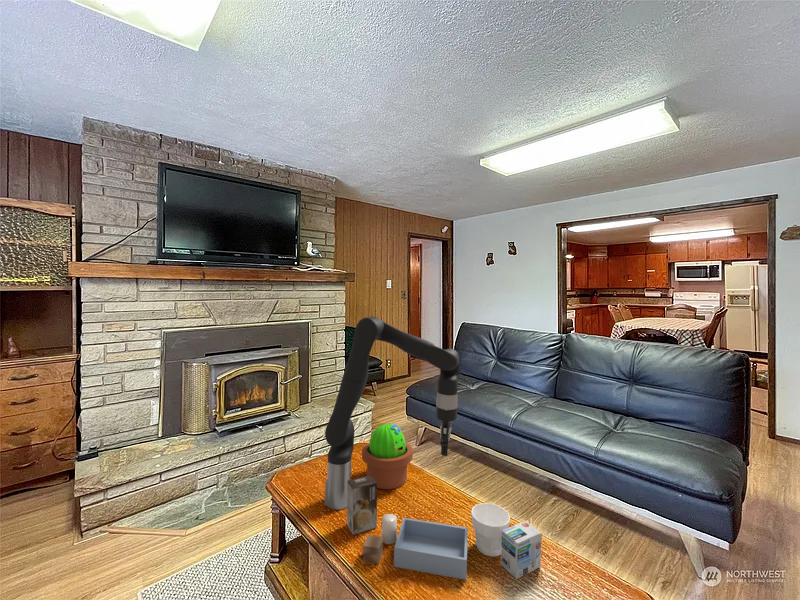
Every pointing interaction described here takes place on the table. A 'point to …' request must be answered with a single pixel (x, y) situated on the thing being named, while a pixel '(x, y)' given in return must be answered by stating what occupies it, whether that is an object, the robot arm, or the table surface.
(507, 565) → the light bulb box
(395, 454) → the potted cactus
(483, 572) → the table surface
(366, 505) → the coffee box
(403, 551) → the tote
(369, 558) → the cube
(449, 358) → the robot arm
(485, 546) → the cup
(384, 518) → the white rounded cylinder
